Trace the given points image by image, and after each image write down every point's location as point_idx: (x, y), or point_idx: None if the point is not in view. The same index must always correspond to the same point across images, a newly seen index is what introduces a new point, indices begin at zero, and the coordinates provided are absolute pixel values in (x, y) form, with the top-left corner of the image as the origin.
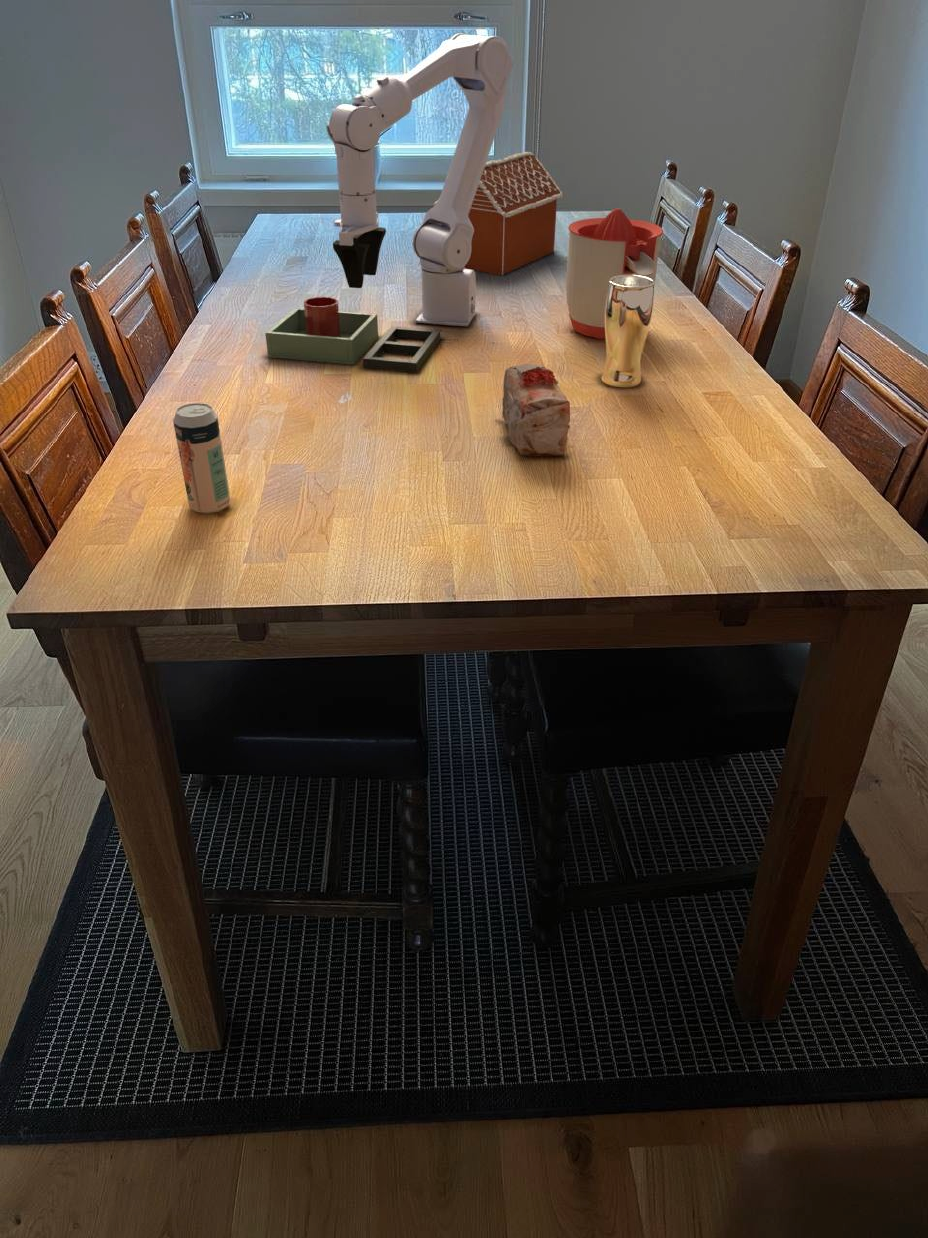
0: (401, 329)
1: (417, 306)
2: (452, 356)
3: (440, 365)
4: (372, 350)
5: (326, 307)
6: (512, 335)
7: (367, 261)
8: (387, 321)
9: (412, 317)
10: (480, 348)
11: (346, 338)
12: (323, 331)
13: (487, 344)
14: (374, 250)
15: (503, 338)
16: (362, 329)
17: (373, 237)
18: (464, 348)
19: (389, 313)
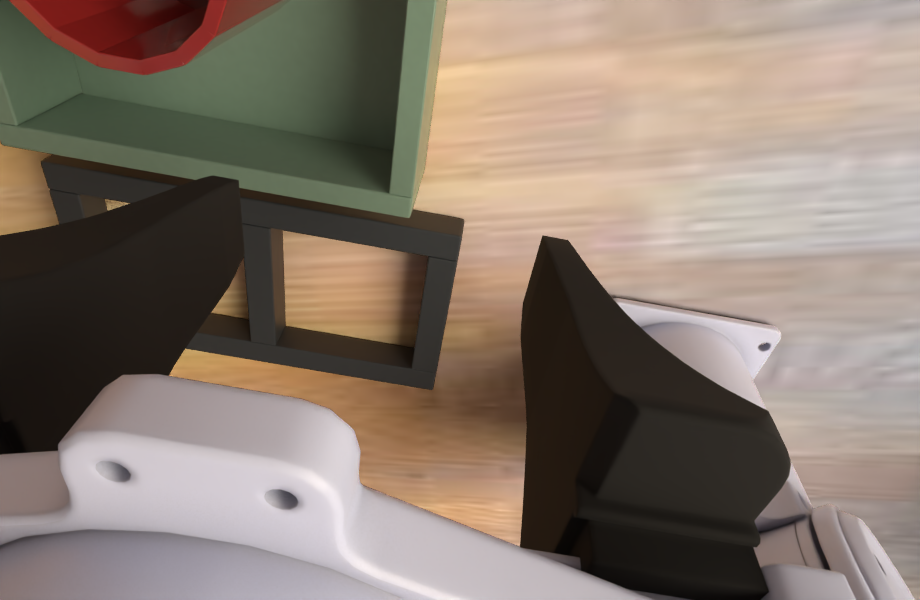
0: (426, 274)
1: (850, 291)
2: (282, 394)
3: (197, 368)
4: (143, 190)
5: (17, 4)
6: (485, 511)
7: (540, 322)
8: (650, 187)
9: (692, 279)
10: (367, 451)
11: (3, 115)
12: None
13: (403, 465)
14: (532, 431)
15: (458, 495)
16: (166, 173)
17: (535, 524)
18: (358, 420)
19: (774, 186)
